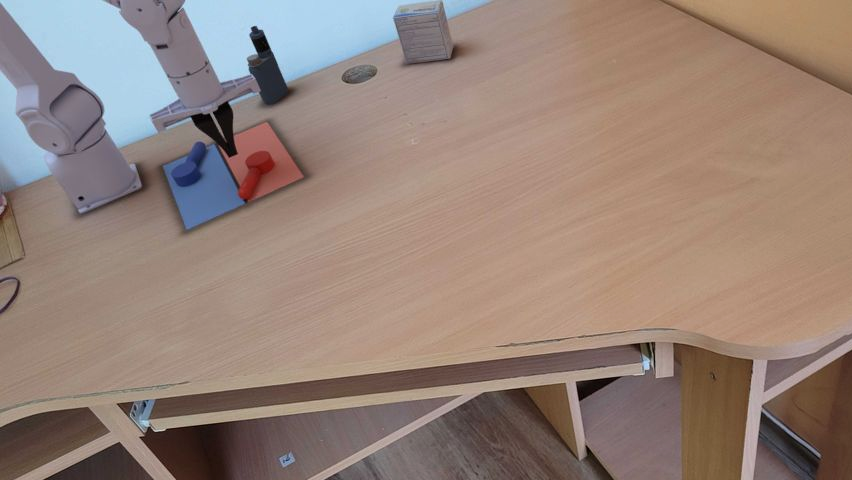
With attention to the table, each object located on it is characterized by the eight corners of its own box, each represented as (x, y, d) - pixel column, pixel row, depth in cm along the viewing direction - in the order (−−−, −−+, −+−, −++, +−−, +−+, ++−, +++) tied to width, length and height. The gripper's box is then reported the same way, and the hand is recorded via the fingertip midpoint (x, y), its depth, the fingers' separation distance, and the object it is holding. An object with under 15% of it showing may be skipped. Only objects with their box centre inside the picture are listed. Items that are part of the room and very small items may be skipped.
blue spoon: (192, 150, 114) (187, 141, 112) (215, 146, 113) (210, 137, 112) (173, 188, 106) (167, 179, 105) (197, 184, 106) (191, 175, 105)
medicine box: (454, 47, 124) (442, -2, 118) (450, 60, 121) (438, 10, 115) (410, 52, 125) (397, 4, 119) (406, 65, 122) (392, 16, 116)
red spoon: (257, 200, 100) (252, 190, 99) (232, 203, 101) (227, 193, 100) (277, 159, 107) (273, 149, 106) (254, 161, 108) (249, 152, 107)
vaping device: (292, 90, 123) (264, 24, 114) (271, 106, 120) (241, 40, 112) (282, 88, 124) (253, 23, 116) (261, 104, 121) (230, 38, 113)
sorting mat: (187, 230, 98) (186, 229, 98) (163, 167, 112) (162, 165, 112) (304, 177, 103) (303, 176, 103) (267, 122, 116) (266, 121, 116)
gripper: (137, 100, 88) (188, 186, 98) (247, 56, 92) (287, 144, 101) (129, 79, 93) (179, 164, 102) (234, 38, 97) (273, 124, 106)
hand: (232, 153), depth 102 cm, fingers closed
